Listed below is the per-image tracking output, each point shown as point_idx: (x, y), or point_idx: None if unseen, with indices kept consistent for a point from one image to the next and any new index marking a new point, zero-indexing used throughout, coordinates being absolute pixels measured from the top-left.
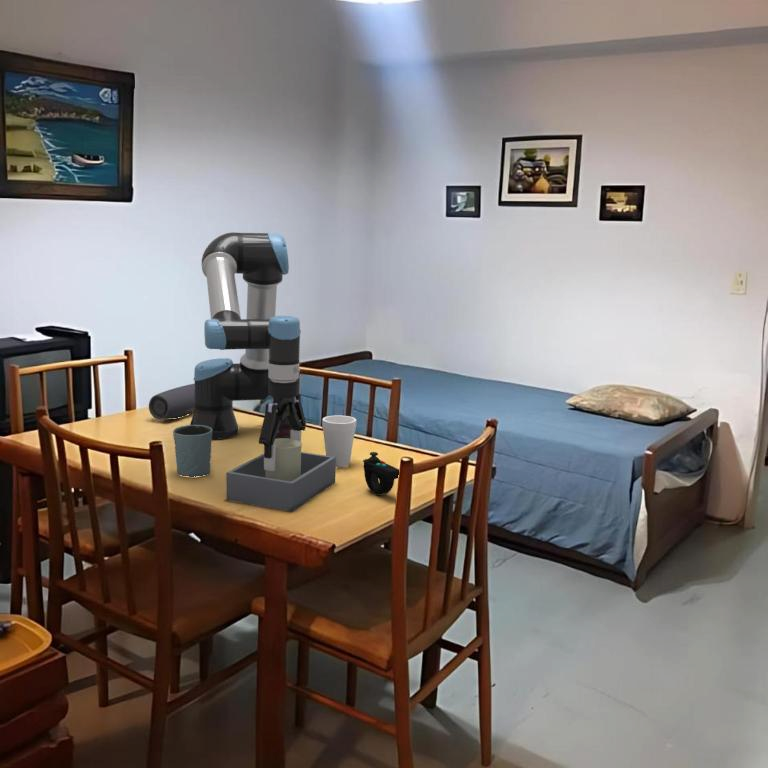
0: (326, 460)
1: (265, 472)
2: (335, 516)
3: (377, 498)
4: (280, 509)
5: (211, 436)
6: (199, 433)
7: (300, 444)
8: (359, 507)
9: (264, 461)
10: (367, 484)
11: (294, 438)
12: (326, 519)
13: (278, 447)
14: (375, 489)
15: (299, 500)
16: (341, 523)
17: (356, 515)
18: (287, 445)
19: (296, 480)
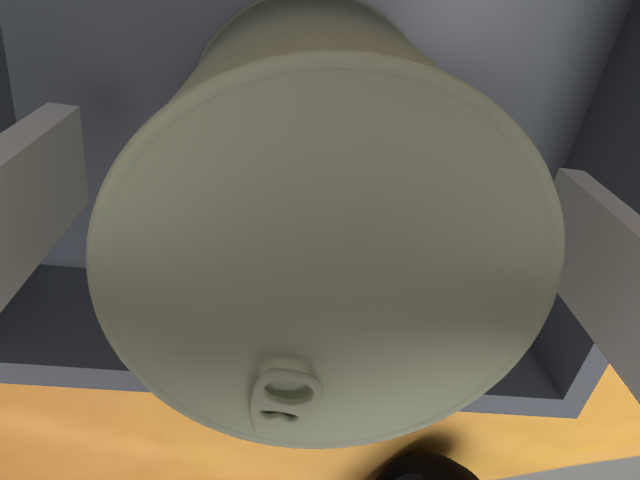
0: (492, 397)
1: (239, 26)
2: (90, 418)
3: (348, 475)
4: None
5: None
6: None
7: (339, 446)
8: (228, 454)
9: (9, 134)
10: (425, 461)
11: (634, 299)
12: (39, 402)
13: (134, 306)
14: (399, 477)
15: None
16: (35, 449)
17: (142, 465)
18: (264, 357)
19: (10, 378)
